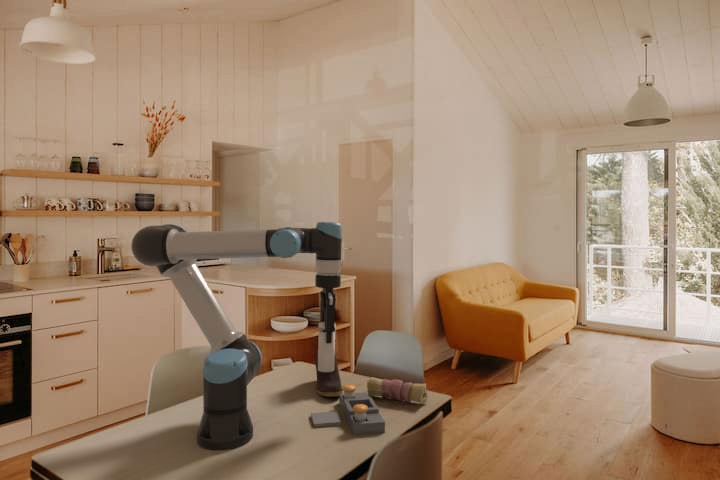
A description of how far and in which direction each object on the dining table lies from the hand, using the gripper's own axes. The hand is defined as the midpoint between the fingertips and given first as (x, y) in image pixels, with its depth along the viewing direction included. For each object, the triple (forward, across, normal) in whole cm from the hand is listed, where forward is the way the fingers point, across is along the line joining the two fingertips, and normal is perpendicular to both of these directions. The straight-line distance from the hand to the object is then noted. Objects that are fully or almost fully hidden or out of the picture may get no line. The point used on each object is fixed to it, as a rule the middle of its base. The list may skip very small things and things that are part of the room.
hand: (326, 350), depth 149 cm
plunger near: (+20, -8, -9) cm, 23 cm away
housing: (+21, +1, -11) cm, 24 cm away
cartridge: (+6, 0, 0) cm, 6 cm away
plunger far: (+20, +9, -9) cm, 24 cm away
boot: (+22, +27, -5) cm, 35 cm away
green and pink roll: (+21, +12, -26) cm, 36 cm away
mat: (+21, 0, 0) cm, 21 cm away
